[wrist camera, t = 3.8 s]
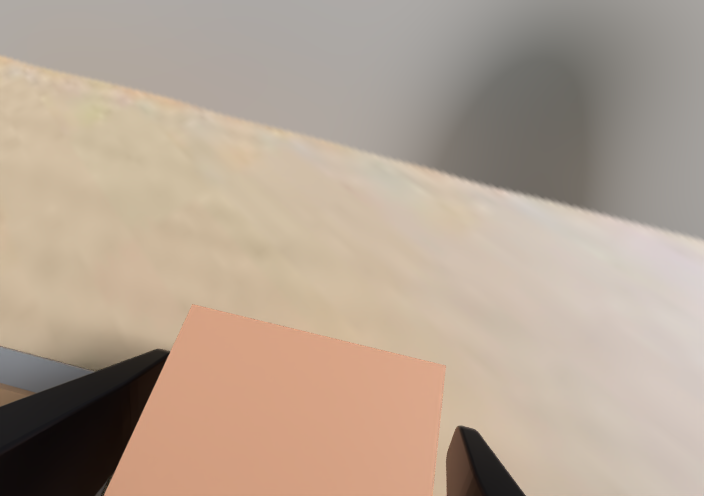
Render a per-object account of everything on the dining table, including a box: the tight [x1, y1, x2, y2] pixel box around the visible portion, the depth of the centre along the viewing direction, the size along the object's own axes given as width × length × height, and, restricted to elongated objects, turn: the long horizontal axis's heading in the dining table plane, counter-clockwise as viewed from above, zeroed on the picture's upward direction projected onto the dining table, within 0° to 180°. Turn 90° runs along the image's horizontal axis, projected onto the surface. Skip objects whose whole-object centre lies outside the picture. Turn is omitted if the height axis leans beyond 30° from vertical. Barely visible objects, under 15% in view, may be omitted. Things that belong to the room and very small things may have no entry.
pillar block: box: [104, 304, 446, 496], centre depth 9 cm, size 5×5×9 cm
